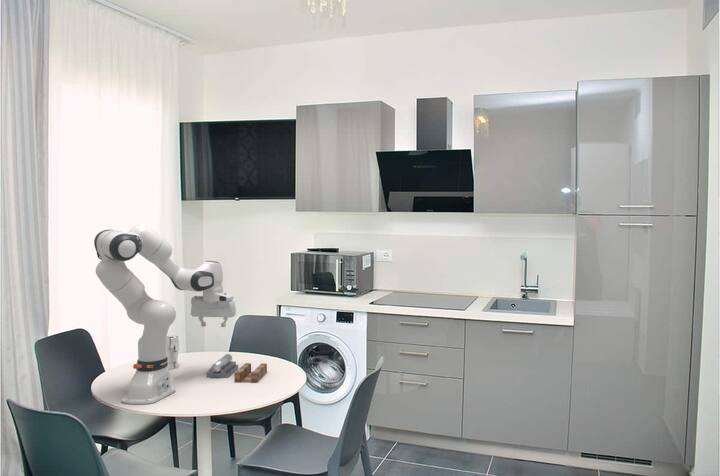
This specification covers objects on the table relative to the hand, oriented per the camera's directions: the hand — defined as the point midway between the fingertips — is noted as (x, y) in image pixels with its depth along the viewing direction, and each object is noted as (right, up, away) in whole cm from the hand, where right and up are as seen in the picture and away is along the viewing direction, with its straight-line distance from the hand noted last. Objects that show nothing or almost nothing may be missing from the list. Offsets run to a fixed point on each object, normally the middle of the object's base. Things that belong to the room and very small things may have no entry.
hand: (213, 326), depth 256 cm
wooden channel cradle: (+18, -23, -3) cm, 29 cm away
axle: (+3, -19, +3) cm, 19 cm away
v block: (+3, -23, +3) cm, 23 cm away
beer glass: (-24, -23, +16) cm, 37 cm away
